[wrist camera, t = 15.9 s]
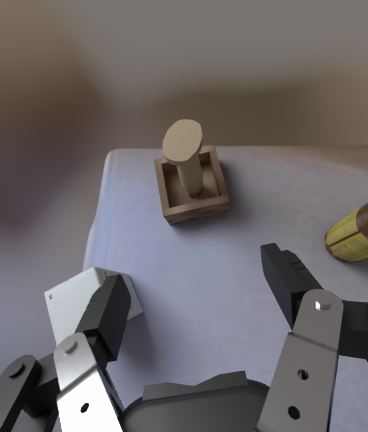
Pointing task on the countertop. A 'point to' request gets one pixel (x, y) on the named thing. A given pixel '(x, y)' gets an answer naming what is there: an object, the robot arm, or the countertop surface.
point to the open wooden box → (189, 205)
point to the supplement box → (80, 300)
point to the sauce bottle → (349, 237)
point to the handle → (185, 153)
